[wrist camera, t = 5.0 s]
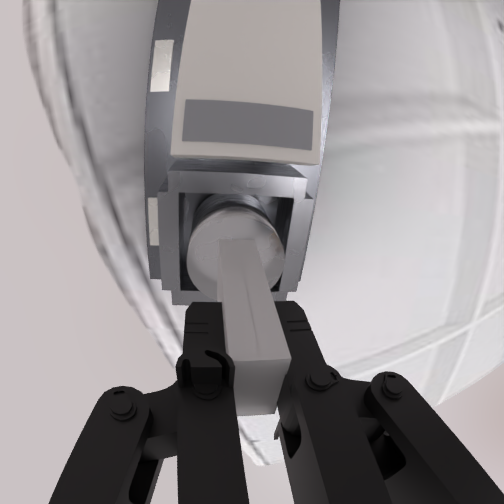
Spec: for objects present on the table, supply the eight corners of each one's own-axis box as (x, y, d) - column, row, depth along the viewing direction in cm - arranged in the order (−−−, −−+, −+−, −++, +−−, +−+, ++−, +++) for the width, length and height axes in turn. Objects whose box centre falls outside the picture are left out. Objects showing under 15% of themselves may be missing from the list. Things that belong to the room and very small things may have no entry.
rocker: (197, -13, 9) (197, -29, 8) (311, 0, 10) (320, -13, 9) (174, 157, 11) (169, 154, 10) (309, 166, 12) (321, 164, 10)
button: (192, 189, 15) (186, 216, 12) (273, 192, 16) (291, 219, 12) (191, 260, 17) (187, 302, 14) (264, 262, 18) (277, 302, 14)
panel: (186, -78, 8) (181, -119, 3) (329, -61, 10) (359, -93, 5) (155, 260, 20) (142, 307, 15) (291, 263, 22) (312, 308, 17)
